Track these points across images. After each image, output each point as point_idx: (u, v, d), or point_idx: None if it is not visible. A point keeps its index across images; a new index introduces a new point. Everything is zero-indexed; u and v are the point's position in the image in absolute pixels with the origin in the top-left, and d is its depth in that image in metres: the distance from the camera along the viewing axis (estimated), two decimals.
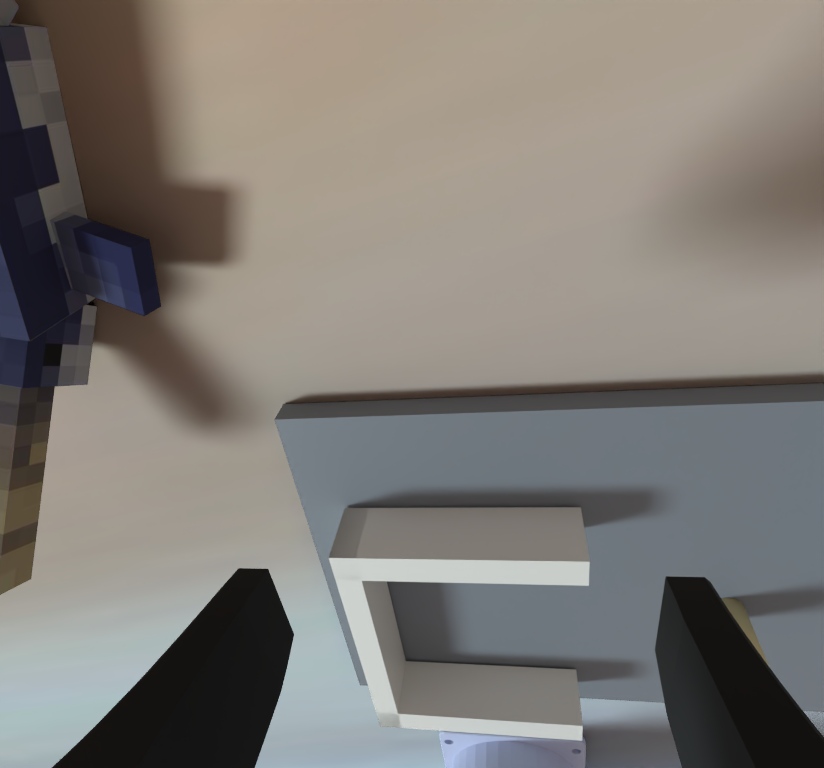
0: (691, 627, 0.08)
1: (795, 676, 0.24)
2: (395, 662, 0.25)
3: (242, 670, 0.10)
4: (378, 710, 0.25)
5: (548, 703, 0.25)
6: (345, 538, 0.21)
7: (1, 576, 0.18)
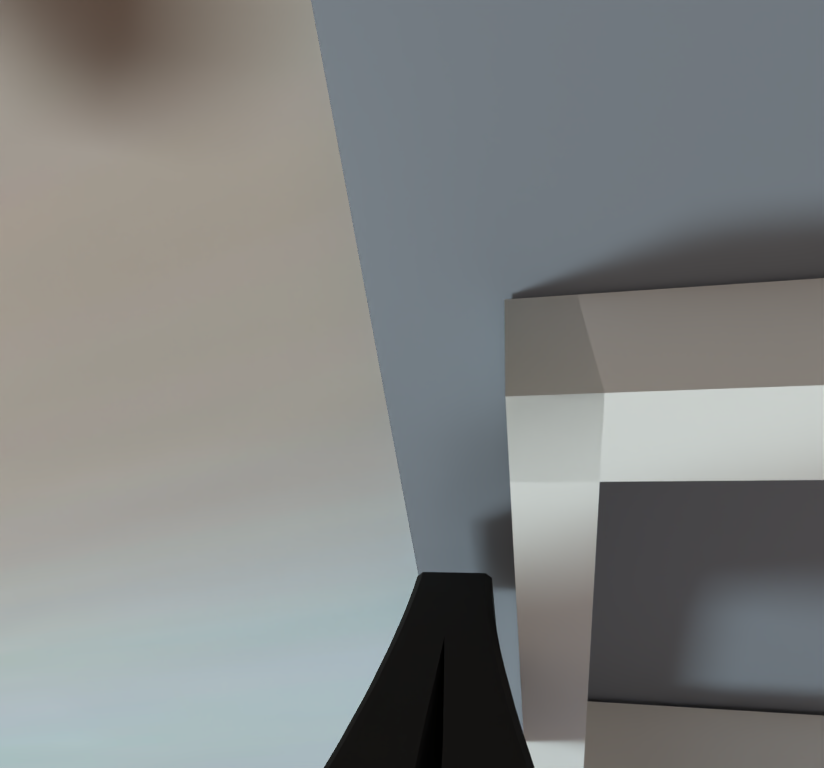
0: (447, 619, 0.09)
1: None
2: None
3: None
4: None
5: None
6: (540, 352, 0.07)
7: None
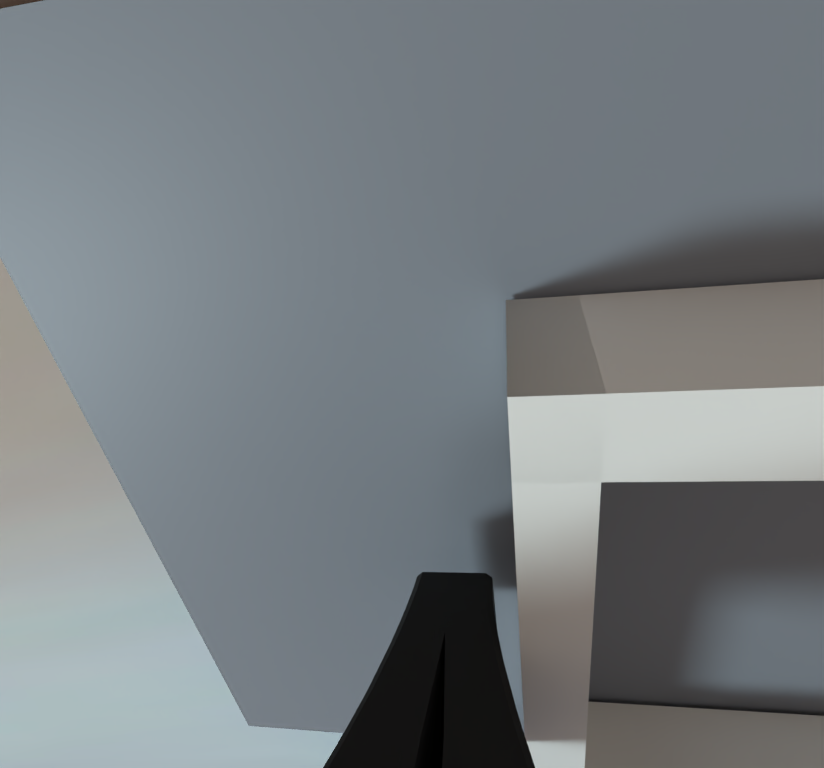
0: (448, 619, 0.09)
1: None
2: None
3: None
4: None
5: None
6: (541, 352, 0.07)
7: None
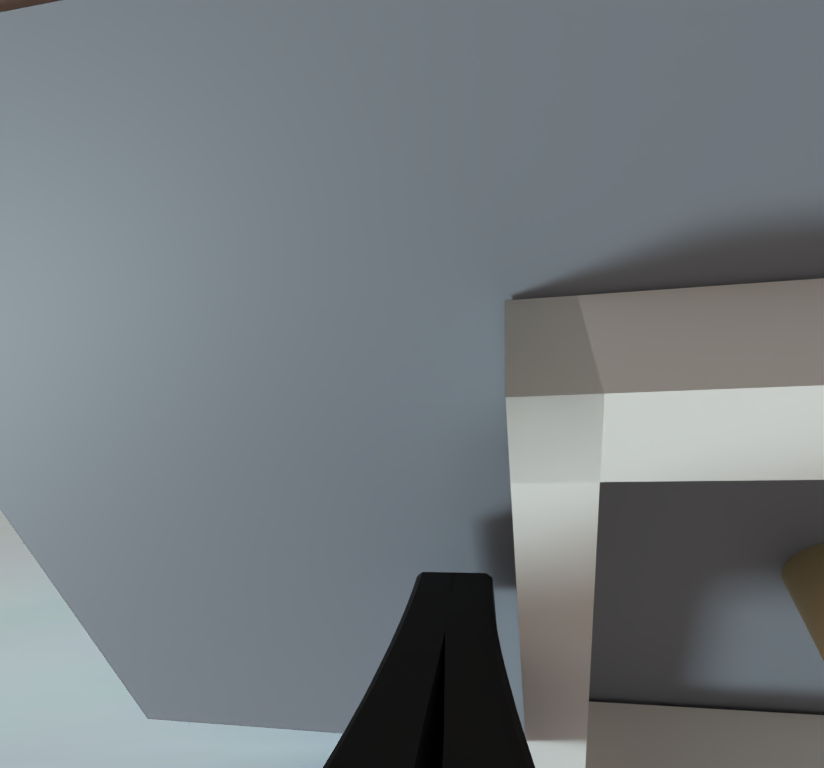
0: (448, 619, 0.09)
1: None
2: None
3: None
4: None
5: None
6: (540, 353, 0.07)
7: None
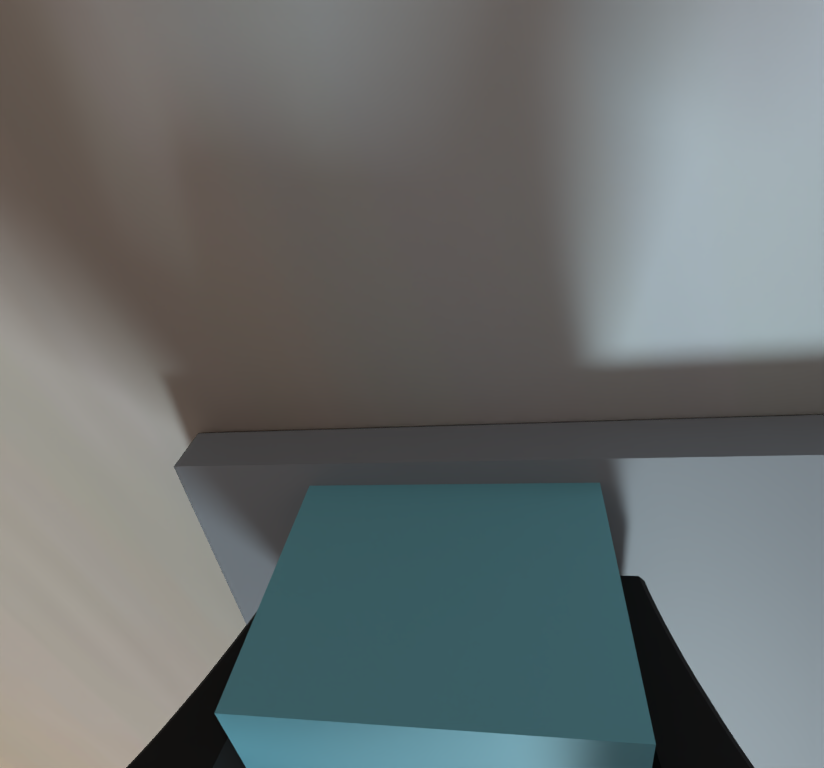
0: None
1: None
2: None
3: None
4: None
5: None
6: None
7: None
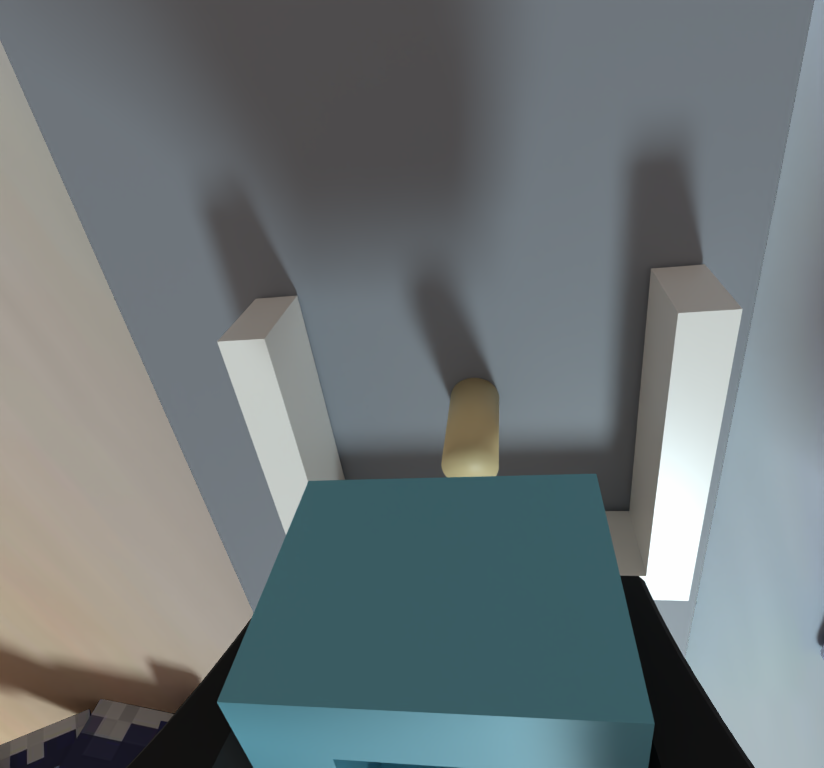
0: None
1: (645, 274, 0.14)
2: None
3: None
4: None
5: (662, 350, 0.13)
6: None
7: None
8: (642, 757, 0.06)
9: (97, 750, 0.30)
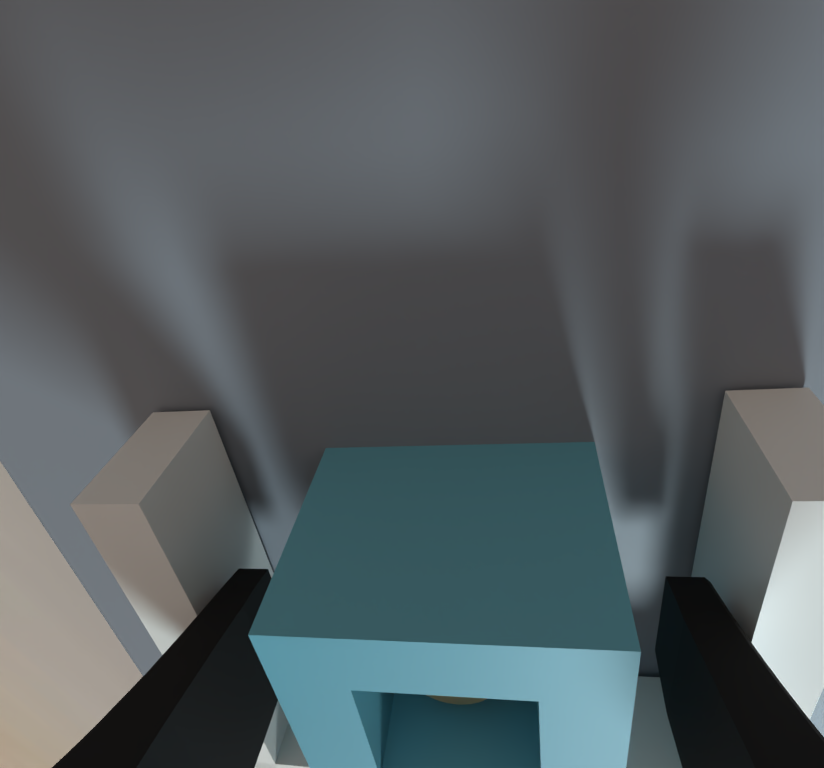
0: (691, 627, 0.08)
1: (714, 397, 0.09)
2: None
3: (242, 670, 0.10)
4: None
5: (748, 527, 0.08)
6: None
7: None
8: (630, 685, 0.07)
9: None
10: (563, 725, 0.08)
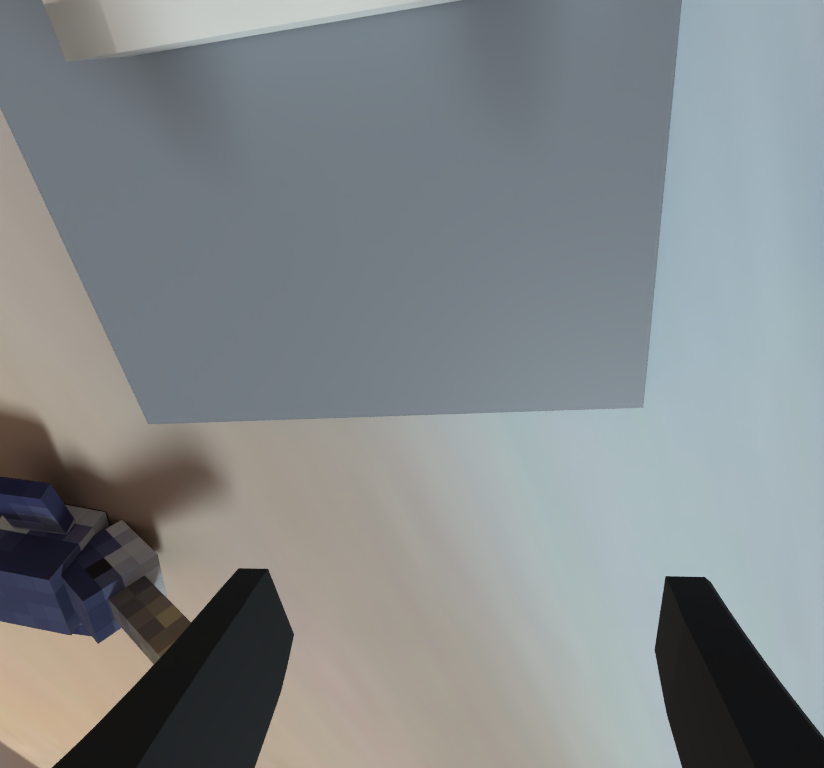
0: (691, 627, 0.08)
1: None
2: None
3: (242, 670, 0.10)
4: None
5: None
6: None
7: None
8: None
9: None
10: None
